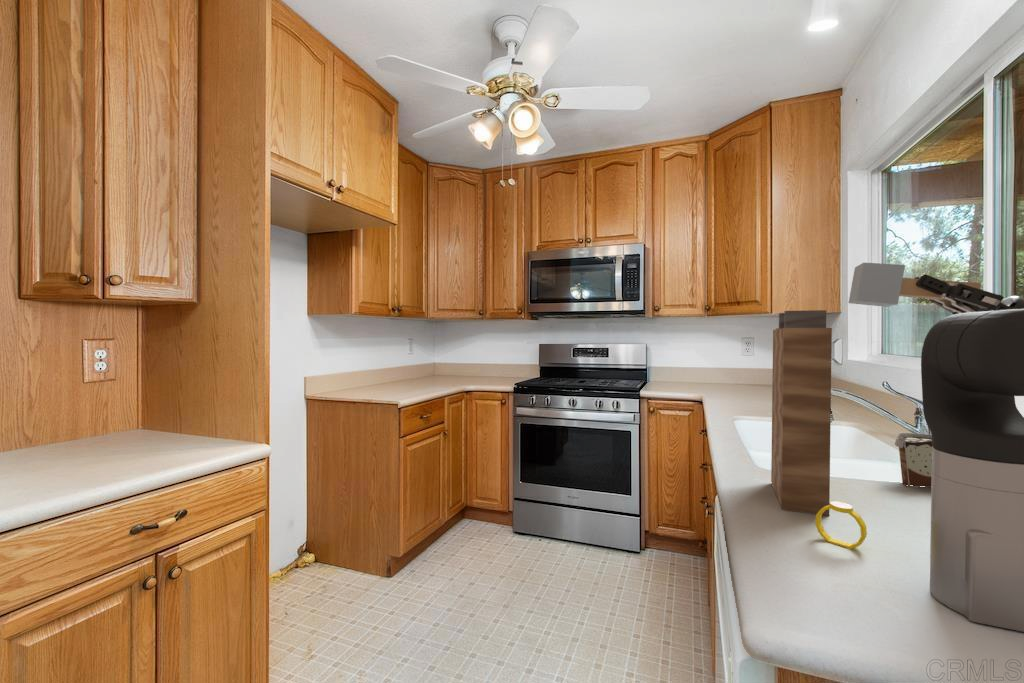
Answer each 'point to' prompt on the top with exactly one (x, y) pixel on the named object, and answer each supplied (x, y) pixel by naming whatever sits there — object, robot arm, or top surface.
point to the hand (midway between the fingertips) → (915, 280)
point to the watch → (844, 509)
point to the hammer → (888, 285)
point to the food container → (915, 458)
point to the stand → (801, 411)
